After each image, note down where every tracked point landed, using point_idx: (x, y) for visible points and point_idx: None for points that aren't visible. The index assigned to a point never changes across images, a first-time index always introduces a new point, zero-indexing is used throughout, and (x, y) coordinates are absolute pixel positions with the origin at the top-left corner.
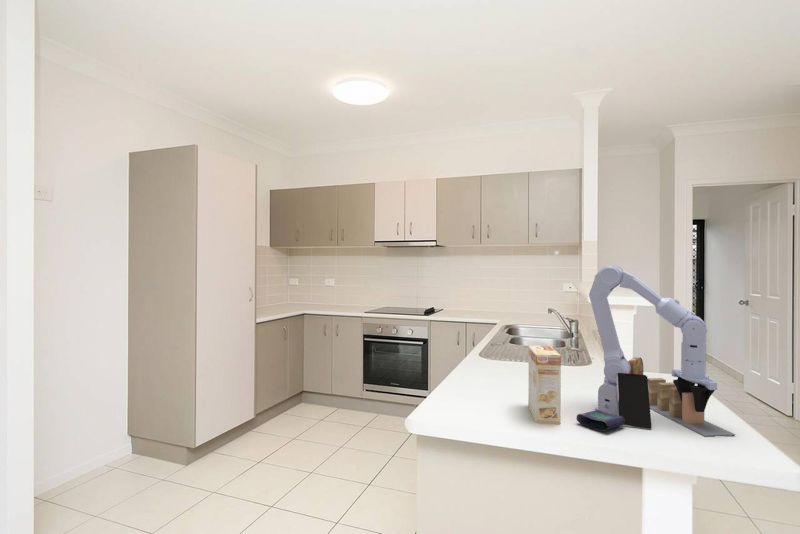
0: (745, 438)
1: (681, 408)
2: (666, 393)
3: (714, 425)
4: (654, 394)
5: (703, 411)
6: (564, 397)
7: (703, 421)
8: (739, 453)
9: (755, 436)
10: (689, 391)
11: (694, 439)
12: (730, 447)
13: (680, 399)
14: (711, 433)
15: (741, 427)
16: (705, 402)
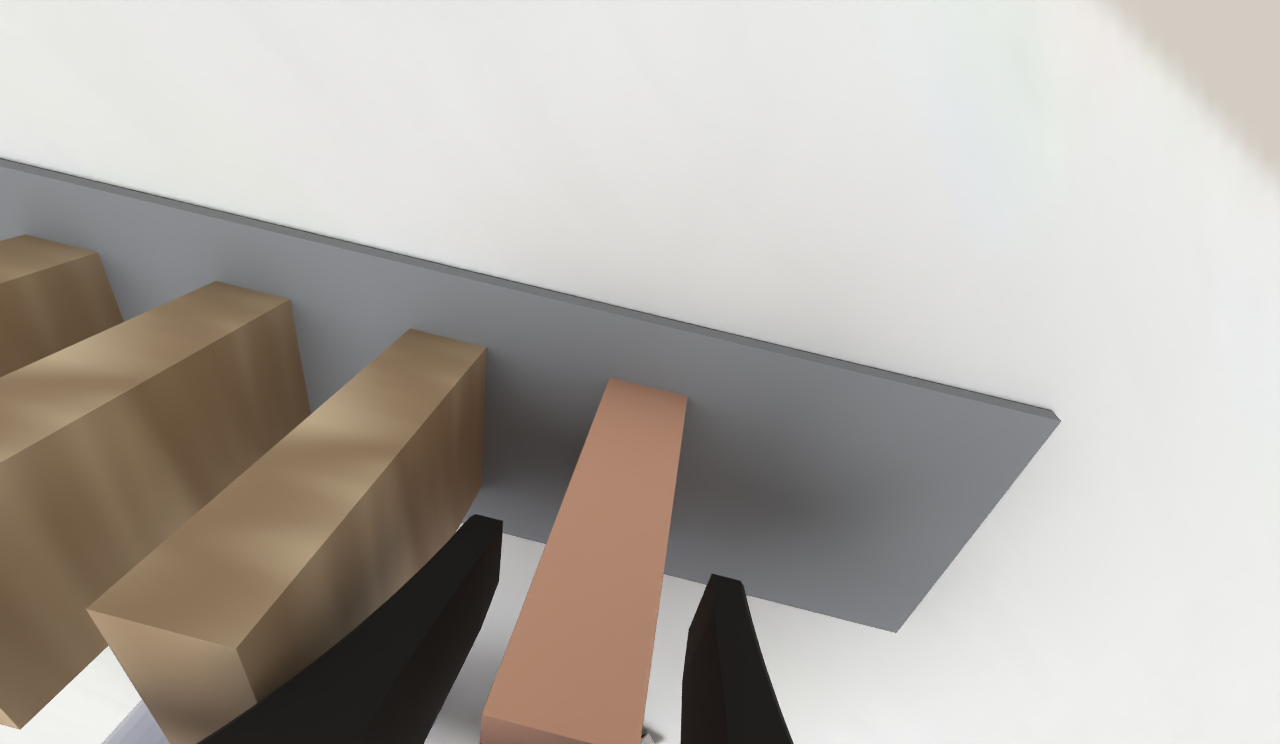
0: (1154, 379)
1: (442, 491)
2: (138, 554)
3: (777, 366)
4: None
5: (741, 595)
6: (85, 676)
7: (682, 415)
8: (1212, 686)
9: (1240, 201)
10: (384, 734)
11: (877, 687)
12: (1120, 646)
13: (385, 596)
14: (899, 566)
15: (960, 16)
16: (763, 720)
